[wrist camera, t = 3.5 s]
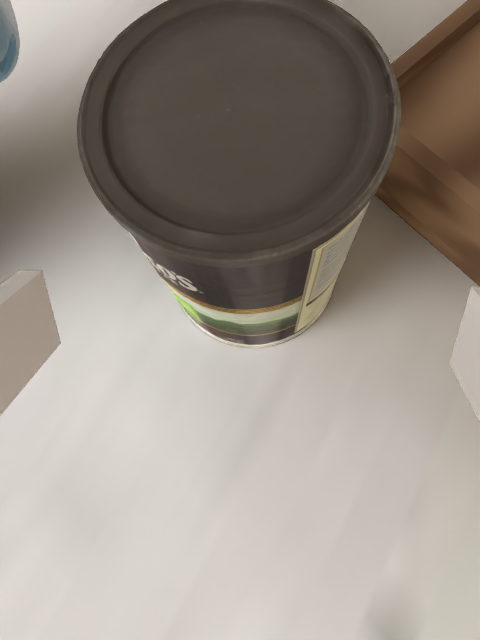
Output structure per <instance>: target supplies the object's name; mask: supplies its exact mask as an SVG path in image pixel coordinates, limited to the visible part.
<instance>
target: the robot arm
mask: <svg viewBox="0 0 480 640" xmlns="http://www.w3.org/2000/svg"><path fill="white" fill-rule="evenodd" d="M19 47H20V39H19V32H18V26H17V22H16V18H15V14H14V11H13V8H12V5H11V2H10V0H0V83H1V82H2V81H4V80H5V79H6V78H7V77H8V76H9V75H10V74H11V72H12V71H13V69H14V68H15V65H16V63H17V60H18V55H19ZM60 343H61V342H60V338H59V334H58V330H57V326H56V322H55V319H54V315H53V311H52V307H51V303H50V299H49V295H48V291H47V288H46V284H45V280H44V276H43V272H42V271H35V270H19V271H17V272H16V273H15V274H13V275H12V276H11V277H9V278H8V279H7V280H5V281H4V282H3V283H1V284H0V416H1V414H2V413H3V412H4V411H5V409H6V408H7V407H8V406H9V405H10V403H11V402H12V401H13V400H14V399H15V397H16V396H17V395H18V394H19V393H20V391H21V390H22V389H23V388H24V387H25V385H26V384H27V383H28V382H29V381H30V379H31V378H32V377H33V376H34V375H35V373H36V372H37V371H38V370H39V369H40V367H41V366H42V365H43V364H44V363H45V361H46V360H47V359H48V358H49V357H50V355H51V354H52V353H53V352H54V351H55V349H56V348H57V347H58V346H59V345H60ZM449 364H450V366H451V368H452V370H453V372H454V374H455V376H456V378H457V380H458V382H459V383H460V385H461V387H462V389H463V391H464V393H465V395H466V397H467V399H468V401H469V403H470V404H471V406H472V408H473V410H474V412H475V414H476V416H477V418H478V420H479V422H480V287H471V290H470V293H469V297H468V300H467V304H466V307H465V311H464V314H463V317H462V321H461V324H460V328H459V331H458V335H457V338H456V342H455V345H454V348H453V352H452V355H451V359H450V362H449Z"/></svg>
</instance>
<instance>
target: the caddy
mask: <svg viewBox="0 0 480 640" xmlns="http://www.w3.org/2000/svg"><path fill="white" fill-rule="evenodd" d="M391 66H392V68H393V71H394V74H395V77H396V81H397V83H398V88H399V92H400V100H401V128H400V134H399V139H398V144H397V148H396V151H395V154H394V157H393V160H392V163H391V165H390V167H389V169H388V171H387V173H386V175H385V177H384V179H383V181H382V183H381V185H380V186H379V188H378V190H377V191H376V193H375V195H376V196H378V197H379V198H380V199H381V200H382V201H383V202H384V203H386V204H387V205H388V206H389V207H390V208H391V209H392V210H394V211H395V212H396V213H397V214H398V215H399V216H400V217H402V218H403V219H404V220H405V221H406V222H407V223H408V224H409V225H411V226H412V227H413V228H414V229H415V230H416V231H417V232H419V233H420V234H421V235H422V236H423V237H424V238H425V239H427V240H428V241H429V242H430V243H431V244H432V245H433V246H435V247H436V248H437V249H438V250H439V251H440V252H441V253H443V254H444V255H445V256H446V257H447V258H448V259H449V260H451V261H452V262H453V263H454V264H455V265H456V266H457V267H459V268H460V269H461V270H462V271H463V272H464V273H465V274H466V275H468V276H469V277H470V278H471V279H472V280H473V281H474V282H476V283H477V284H478V285H479V286H480V0H468V1H467V2H465V3H464V4H463V5H462V6H461V7H459V8H458V9H457V10H456V11H455V12H453V13H452V14H451V15H450V16H449V17H447V18H446V19H445V20H444V21H443V22H441V23H440V24H439V25H438V26H437V27H435V28H434V29H433V30H432V31H431V32H429V33H428V34H427V35H426V36H425V37H423V38H422V39H421V40H420V41H419V42H417V43H416V44H415V45H414V46H413V47H411V48H410V49H409V50H408V51H407V52H405V53H404V54H403V55H402V56H401V57H399V58H398V59H397V60H396V61H395V62H393V63H392V64H391Z"/></svg>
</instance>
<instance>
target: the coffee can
mask: <svg viewBox="0 0 480 640" xmlns="http://www.w3.org/2000/svg"><path fill="white" fill-rule="evenodd" d="M400 128H401V100H400V92H399V88H398V83H397V81H396V77H395V74H394V71H393V68H392V66H391V64H390V62H389V59H388V58H387V56H386V54H385V53H384V51H383V49H382V47H381V46H380V44H379V43H378V42H377V40H376V39H375V38H374V36H373V35H372V34H371V32H370V31H369V30H368V29H367V28H366V27H364V26H363V25H362V24H361V23H360V22H359V21H358V20H357V19H356V18H355V17H353V16H352V15H350V14H349V13H348V12H346V11H345V10H343V9H342V8H340V7H339V6H337V5H335V4H334V3H332V2H330V1H328V0H168V1H166V2H164V3H162V4H160V5H159V6H157V7H155V8H154V9H152V10H150V11H149V12H147V13H146V14H144V15H143V16H141V17H140V18H138V19H137V20H136V21H134V22H133V23H132V24H130V25H129V26H128V27H127V28H126V29H125V30H124V31H122V32H121V33H120V34H119V35H118V36H117V37H116V38H115V40H114V41H113V42H112V43H111V44H110V45H109V46H108V47H107V49H106V50H105V51H104V53H103V54H102V56H101V58H100V59H99V60H98V62H97V64H96V66H95V68H94V70H93V71H92V73H91V75H90V77H89V80H88V82H87V84H86V87H85V90H84V93H83V96H82V100H81V104H80V108H79V115H78V122H77V138H78V148H79V154H80V158H81V161H82V164H83V168H84V171H85V173H86V176H87V178H88V180H89V182H90V184H91V186H92V188H93V190H94V192H95V193H96V195H97V197H98V198H99V199H100V201H101V202H102V204H103V205H104V206H105V208H106V209H107V210H108V211H109V212H110V214H111V215H112V216H113V217H114V218H115V219H116V220H117V221H118V222H119V223H120V224H121V225H122V226H123V227H124V228H125V229H126V230H127V231H128V233H129V234H130V235H131V236H132V238H133V239H134V240H135V242H136V243H137V244H138V246H139V247H140V249H141V250H142V252H143V253H144V255H145V256H146V257H147V258H148V260H149V261H150V263H151V264H152V265H153V266H154V268H155V269H156V271H157V272H158V274H159V275H160V276H161V277H162V279H163V280H164V282H165V283H166V284H167V286H168V287H169V288H170V290H171V291H172V293H173V294H174V295H175V297H176V298H177V300H178V301H179V303H180V305H181V307H182V308H183V310H184V312H185V313H186V314H187V316H188V317H189V318H190V320H191V321H192V322H193V323H194V324H195V325H196V326H197V327H198V328H200V329H201V330H202V331H203V332H205V333H206V334H208V335H209V336H211V337H213V338H215V339H217V340H219V341H221V342H224V343H227V344H229V345H233V346H238V347H246V348H260V347H268V346H273V345H276V344H280V343H283V342H285V341H288V340H290V339H292V338H294V337H296V336H298V335H299V334H301V333H303V332H304V331H305V330H306V329H308V328H309V327H310V326H311V325H312V324H313V323H314V322H315V321H316V320H317V319H318V317H319V316H320V315H321V314H322V312H323V311H324V309H325V308H326V306H327V304H328V302H329V300H330V298H331V295H332V292H333V290H334V287H335V282H336V280H337V278H338V275H339V273H340V271H341V268H342V266H343V264H344V262H345V260H346V257H347V254H348V252H349V250H350V247H351V245H352V242H353V240H354V238H355V235H356V233H357V231H358V228H359V226H360V224H361V221H362V219H363V217H364V214H365V212H366V210H367V207H368V205H369V203H370V200H371V199H372V197H373V196H374V194H375V193H376V191H377V190H378V188H379V186H380V185H381V183H382V181H383V179H384V177H385V175H386V173H387V171H388V169H389V167H390V165H391V163H392V160H393V157H394V154H395V151H396V148H397V144H398V139H399V134H400Z"/></svg>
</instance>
